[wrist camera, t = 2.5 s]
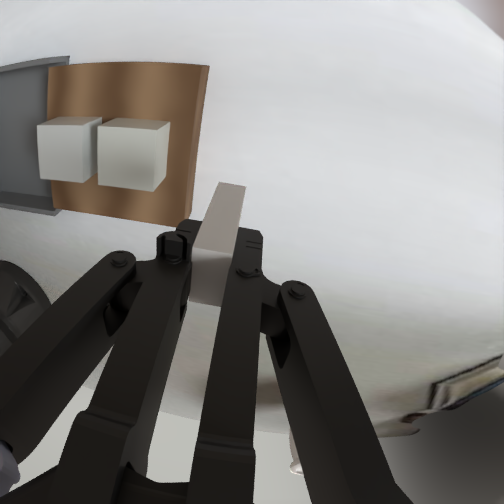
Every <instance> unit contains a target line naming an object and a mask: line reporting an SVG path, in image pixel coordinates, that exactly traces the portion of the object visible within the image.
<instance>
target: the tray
mask: <svg viewBox="0 0 504 504" xmlns="http://www.w3.org/2000/svg"><path fill="white" fill-rule="evenodd" d="M69 57H70V56H60V57H50V58H43V59H37V60H31V61H25V62H20V63H15V64H11V65H6V66H2V67H0V207H2V208H8V209H14V210H20V211H26V212H32V213H39V214H45V215H51V216H56V215H57V214H58V213H59V212H60V211H61V210H62V209H57V208H54V206H53V198H52V190H51V180H50V179H40V170H39V158H38V142H37V125H39V124H42V123H44V122H46V121H47V100H48V76H49V67H55V66H63V65H69Z"/></svg>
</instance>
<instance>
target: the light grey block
mask: <svg viewBox="0 0 504 504" xmlns="http://www.w3.org/2000/svg"><path fill="white" fill-rule="evenodd" d="M101 124H102V117H57V118H54V119H51V120H49V121H46V122H44V123H42V124H39V125H37V142H38V158H39V170H40V179H50V180H60V181H69V182H79V183H84V182H85V181H87V180H88V179H89V178H90V177H92V176H93V175H94V174H96V173H97V172H98V155H97V141H98V126H99V125H101Z"/></svg>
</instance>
